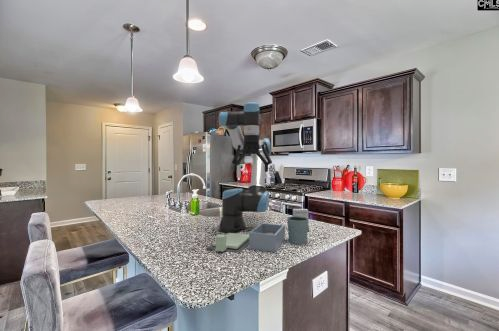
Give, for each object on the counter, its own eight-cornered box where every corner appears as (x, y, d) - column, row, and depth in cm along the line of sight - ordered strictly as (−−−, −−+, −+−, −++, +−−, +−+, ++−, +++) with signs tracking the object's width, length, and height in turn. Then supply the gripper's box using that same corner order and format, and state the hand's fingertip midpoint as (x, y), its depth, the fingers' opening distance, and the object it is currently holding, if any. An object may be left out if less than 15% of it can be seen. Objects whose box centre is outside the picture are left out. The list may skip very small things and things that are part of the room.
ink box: (307, 228, 145) (307, 208, 145) (308, 231, 141) (308, 210, 140) (292, 228, 146) (292, 208, 146) (293, 230, 141) (293, 209, 141)
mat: (206, 250, 110) (206, 247, 110) (227, 236, 131) (227, 234, 131) (239, 254, 105) (239, 252, 105) (256, 239, 125) (256, 237, 125)
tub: (249, 250, 110) (249, 232, 109) (261, 238, 126) (261, 223, 126) (275, 254, 105) (275, 235, 105) (284, 241, 122) (284, 225, 122)
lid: (206, 250, 106) (206, 235, 106) (229, 235, 128) (229, 223, 128) (232, 254, 102) (232, 238, 102) (251, 238, 124) (251, 225, 124)
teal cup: (295, 247, 113) (295, 221, 113) (282, 241, 122) (282, 217, 122) (312, 244, 118) (312, 219, 118) (299, 238, 127) (299, 215, 127)
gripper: (225, 135, 123) (225, 178, 123) (274, 133, 114) (273, 179, 114) (231, 136, 130) (231, 177, 130) (278, 134, 121) (278, 178, 121)
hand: (251, 178), depth 122 cm, fingers open, 13 cm apart
